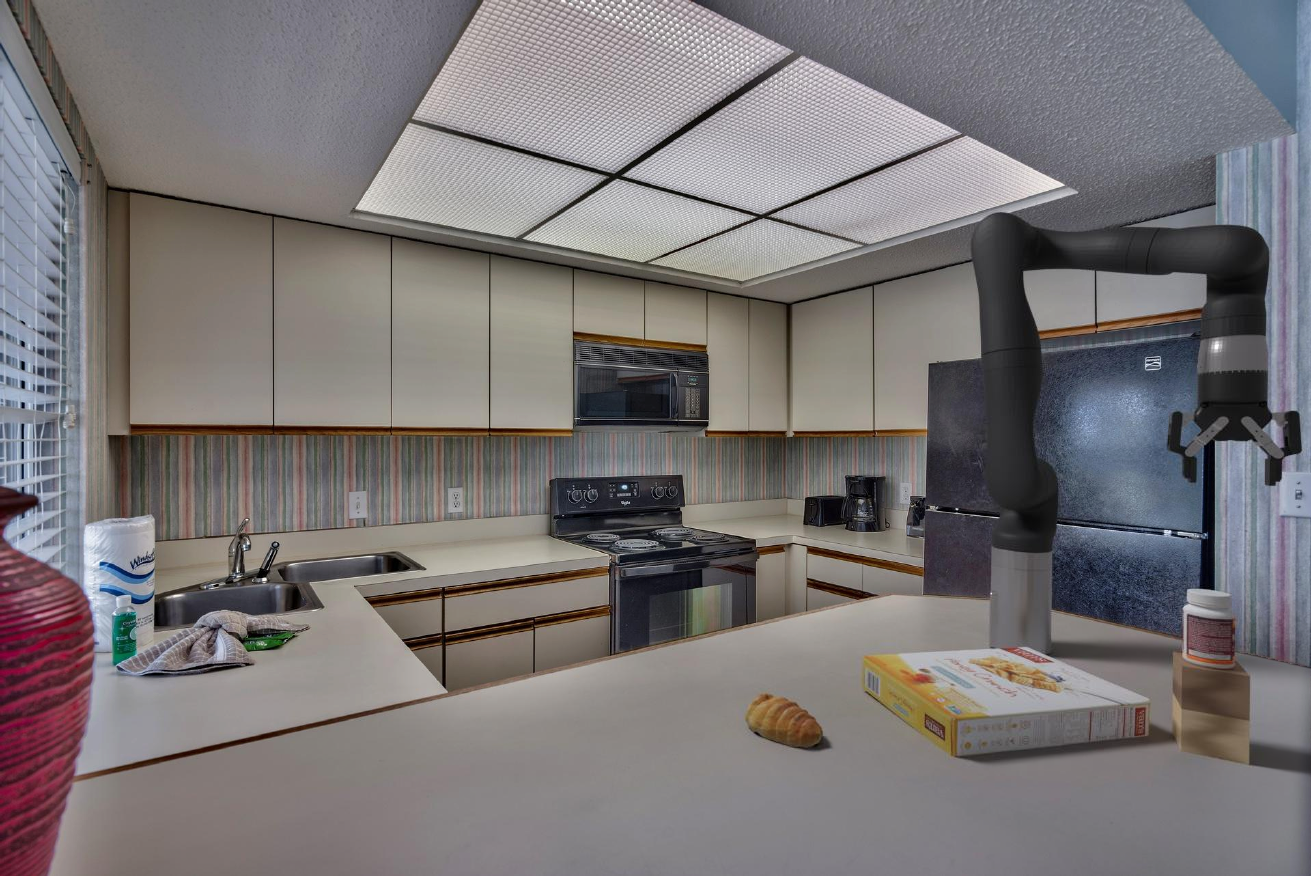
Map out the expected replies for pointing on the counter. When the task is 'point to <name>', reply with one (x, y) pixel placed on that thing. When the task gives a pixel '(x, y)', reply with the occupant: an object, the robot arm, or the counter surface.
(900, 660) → the cereal box
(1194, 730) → the maple block
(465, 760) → the counter surface
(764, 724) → the pastry
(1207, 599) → the pill bottle
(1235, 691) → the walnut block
